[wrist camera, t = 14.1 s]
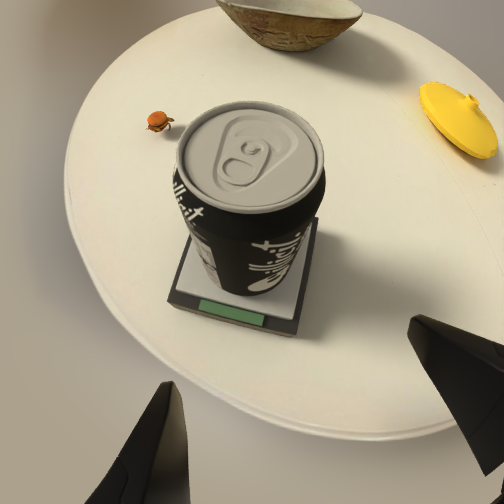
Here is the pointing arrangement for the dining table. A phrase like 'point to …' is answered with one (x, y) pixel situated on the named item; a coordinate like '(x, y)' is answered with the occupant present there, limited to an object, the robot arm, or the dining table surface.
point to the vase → (459, 119)
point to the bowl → (292, 21)
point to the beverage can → (248, 191)
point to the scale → (245, 307)
